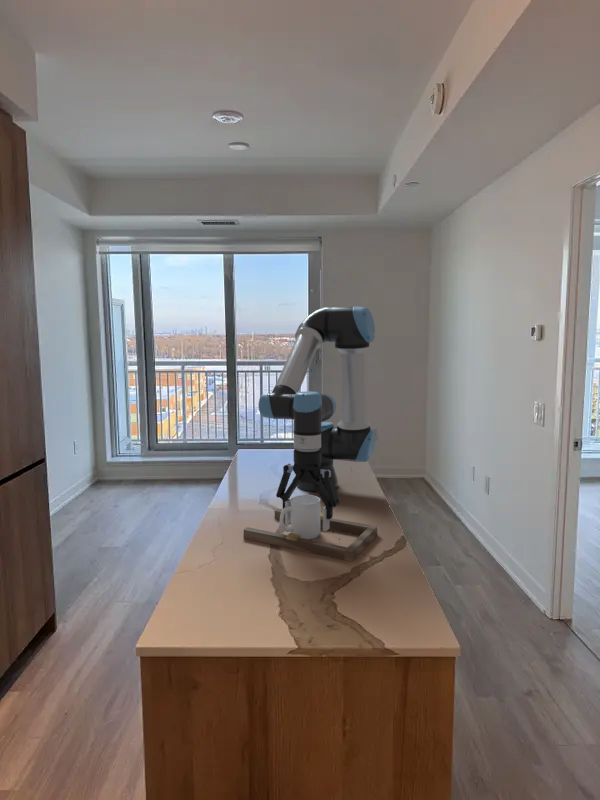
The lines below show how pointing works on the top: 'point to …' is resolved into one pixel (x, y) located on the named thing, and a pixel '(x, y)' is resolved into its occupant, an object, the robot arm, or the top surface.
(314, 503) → the cup
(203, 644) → the top surface
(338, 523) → the track
